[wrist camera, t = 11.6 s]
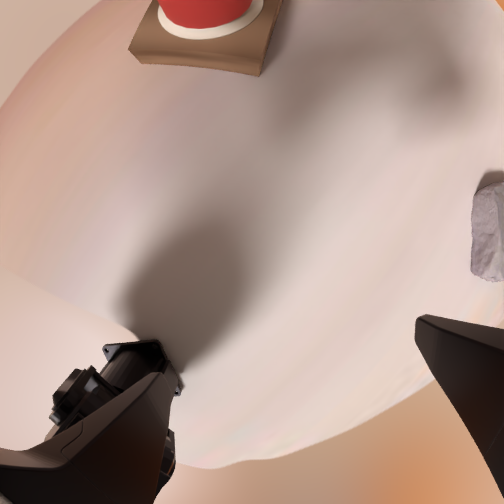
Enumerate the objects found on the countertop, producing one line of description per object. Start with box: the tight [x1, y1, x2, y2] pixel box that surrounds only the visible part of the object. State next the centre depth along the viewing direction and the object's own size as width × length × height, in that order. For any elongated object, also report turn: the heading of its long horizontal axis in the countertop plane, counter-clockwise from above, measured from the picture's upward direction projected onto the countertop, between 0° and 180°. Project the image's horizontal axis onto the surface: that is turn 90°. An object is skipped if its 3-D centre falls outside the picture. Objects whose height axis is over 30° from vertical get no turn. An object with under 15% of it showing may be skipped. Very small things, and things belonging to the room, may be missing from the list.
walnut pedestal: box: [128, 0, 283, 77], centre depth 15 cm, size 10×10×3 cm
